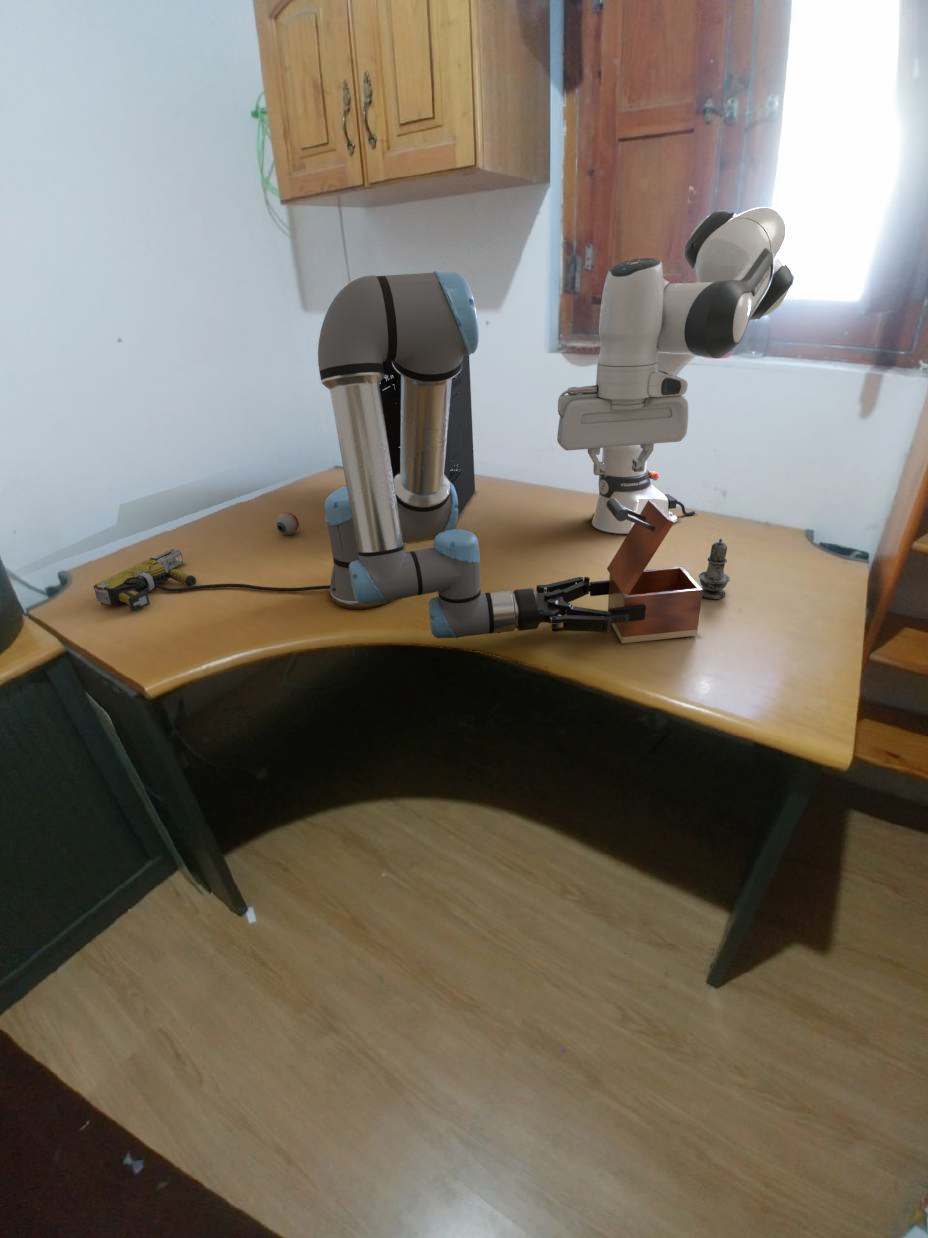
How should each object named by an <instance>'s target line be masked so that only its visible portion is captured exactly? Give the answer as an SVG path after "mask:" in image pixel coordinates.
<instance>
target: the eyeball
mask: <svg viewBox="0 0 928 1238" xmlns="http://www.w3.org/2000/svg"><path fill="white" fill-rule="evenodd" d="M299 525H300V522H299V519H298V517H297V516H296V515H295V514H294V513H292V512H287V511H286V512H282V513H280V514H279V515H278V516H277V517H276V520H275V527H276V529H277V530H278V531H279V532H280V533H281V534H282V535H285V536H286V535H287V536H289V535H293V534H295V533H296V532H297V531H298V529H299Z"/></svg>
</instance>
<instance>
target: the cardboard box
mask: <svg viewBox="0 0 928 1238" xmlns="http://www.w3.org/2000/svg"><path fill="white" fill-rule="evenodd" d="M470 364H471V363H470V355H466V354H465V355H463V363H462V369H461V371H460V373H459V374H458V375H457V376H455V377H454V378H452V383H451V395H450V407H449V419H448V431H447V443H446V455H445V467H444V475H445V476H446V477H447V478H448V480H449V481H450V482H451V483H452V484H453V486H454V488H455V490H456V494H457V499H458V505H457V508H458V517H460V515H461V513H462V512H463V510H464V509H465V507H466V506H467V504H468V503H469V501H470V500H471V499H472V497H473V495H474V494H475V492H476V482H475V480H476V477H475V459H474V457H475V455H474V432H473V412H472V410H473V409H472V388H471V387H472V386H471V367H470V366H471V365H470ZM383 369H384V378H383V379H382V380H381V382H380V384H379V387H380V394H381V400H382V407H383V413H384V420H385V427H386V433H387V440H388V446H389V453H390V459H391V466H392V472H393V479H394V478H395V476H396V475H397V474H398V473H399V472H400V449H401V375H400V374H399V373H398V372H397V371H396V370H395V369H394V367H393V365H392V361H389V362H383Z"/></svg>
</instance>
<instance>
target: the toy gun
mask: <svg viewBox="0 0 928 1238" xmlns="http://www.w3.org/2000/svg"><path fill="white" fill-rule="evenodd" d="M179 557H181V560H177V558H179ZM183 564H184V558H183V552H182V551H181V550H179V549H174V548H171V549H169V550H167V551H164V552H163V553H161V554H159V555H156V556H155V557H150V558H148V559H146V560H144V561H142V562H139V563H138V564H135V565H133V566H131V567H129V568H127V569H125V570H122V571H120V572H118V573H116V574H113V575H112V576H110V577H108V578H106V579H104V580H101V581H99V582H97V583H95V584H93V590H94V594H95V598H96V600H97V603H99V604H100V605H101V606H105V607H107V606H117V605H121V604H127V605H128V606H129V607H130V611H131V612H136V611H138V610H141V609H143V608H145V607H147V606H148V607H149V606H150V599H149V595H148V593H149V592H151V591H154V590H155V588H154V587H155V585H154V584H158V585H160V584H161V583H164V582H165V581H168V579H171V580H174V581H177V582H178V583H182V584H183V585H184V584H185V585H186V586H187V587H192V586H196V584H197V578H196V576H194V575H192V574H188V573H186V572H184V571H180V570H179V569H176V568H177V567H180V565H183Z"/></svg>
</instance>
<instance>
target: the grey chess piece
mask: <svg viewBox="0 0 928 1238" xmlns="http://www.w3.org/2000/svg"><path fill="white" fill-rule="evenodd" d="M727 551H728V545H727V543H724V542H723V538H719V539H718V541H716V542H714V543H713V544H712V545H711V549H710V555H709V556H708V557H707V561H708V564H707V569H706V571H702V572H700V573H699V574H698V578H699V583H700V587H701V588H702V589H703V593H702V598H706V599H711V600H717V599H722V598H724V597H725V596H726V591H724V589H725V588H726V586H727V585H728V583H729V582H730V580H731V578H730V576H729V575H728V574H726V573H725V565H726V564H727V562H728V559H726V557H727Z"/></svg>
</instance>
